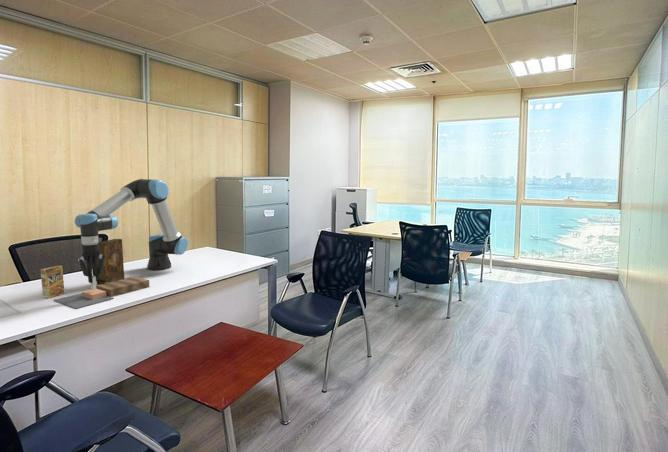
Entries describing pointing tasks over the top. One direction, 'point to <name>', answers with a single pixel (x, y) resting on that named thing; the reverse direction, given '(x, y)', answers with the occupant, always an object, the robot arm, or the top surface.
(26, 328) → the top surface
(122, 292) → the tan panel
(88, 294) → the block
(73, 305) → the mat
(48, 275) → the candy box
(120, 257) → the book
